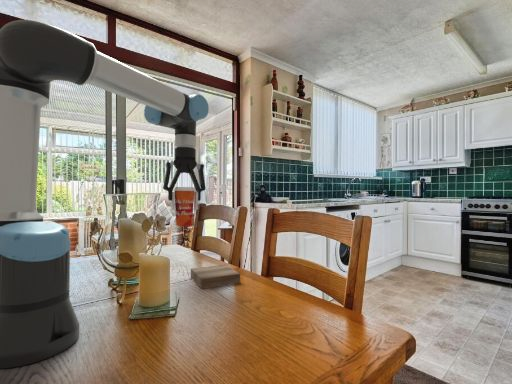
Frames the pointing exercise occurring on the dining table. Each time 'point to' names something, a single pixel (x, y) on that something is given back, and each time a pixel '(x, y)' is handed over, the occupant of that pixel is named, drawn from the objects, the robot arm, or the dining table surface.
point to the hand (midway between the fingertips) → (184, 209)
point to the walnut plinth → (215, 276)
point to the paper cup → (184, 205)
